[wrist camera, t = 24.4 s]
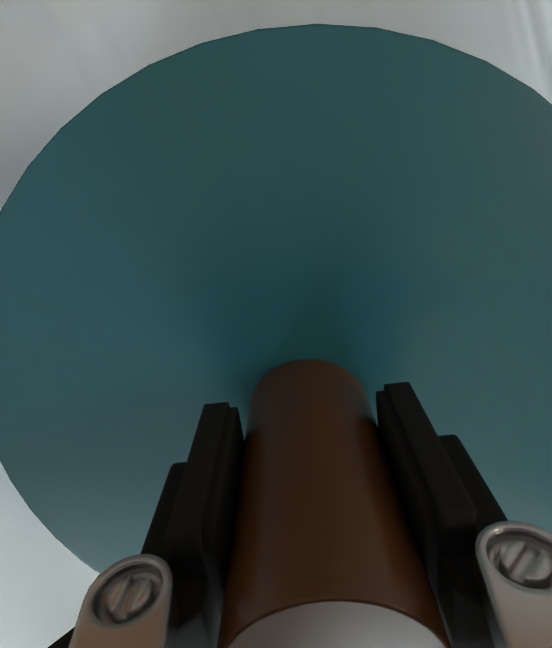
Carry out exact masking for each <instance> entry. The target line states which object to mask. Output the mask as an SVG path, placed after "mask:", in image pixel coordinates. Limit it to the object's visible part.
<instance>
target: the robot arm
mask: <svg viewBox="0 0 552 648" xmlns="http://www.w3.org/2000/svg"><path fill="white" fill-rule="evenodd" d="M376 406H377V422H378V429H379V432H380V435H381V438H382V441H383V444H384V447H385V450H386V453H387V456H388V459H389V462H390V465H391V468H392V471H393V474H394V477H395V480H396V483H397V486H398V489H399V492H400V495H401V498H402V501H403V504H404V507H405V510H406V513H407V516H408V519H409V522H410V525H411V528H412V531H413V534H414V537H415V540H416V543H417V546H418V549H419V552H420V555H421V558H422V561H423V564H424V567H425V570H426V573H427V576H428V579H429V582H430V585H431V588H432V591H433V594H434V597H435V600H436V603H437V606H438V609H439V612H440V615H441V618H442V621H443V624H444V627H445V630H446V633H447V636H448V639H449V642H450V645H451V648H552V533H551V532H549V531H547V530H546V529H544V528H542V527H540V526H536V525H533V524H530V523H527V522H521V521H512V520H509V521H508V519H507V518H506V516H505V514H504V513H503V511H502V509H501V507H500V506H499V504H498V502H497V501H496V499H495V497H494V496H493V494H492V492H491V491H490V489H489V487H488V486H487V484H486V482H485V481H484V479H483V477H482V476H481V474H480V472H479V471H478V469H477V467H476V466H475V464H474V462H473V461H472V459H471V457H470V456H469V454H468V452H467V451H466V449H465V447H464V446H463V444H462V442H461V441H460V439H459V438H458V437H457V435H455V434H450V435H441V436H438V435H437V433H436V431H435V430H434V428H433V426H432V424H431V422H430V420H429V418H428V416H427V414H426V413H425V411H424V409H423V407H422V405H421V403H420V401H419V399H418V398H417V396H416V394H415V392H414V390H413V388H412V386H411V384H410V383H409V382H400V383H391V384H384V391H376ZM243 447H244V436H243V431H242V426H241V421H240V415H239V411H238V408H237V407H230V405H229V403H228V402H220V403H211V404H205V405H204V406H203V409H202V413H201V416H200V419H199V423H198V426H197V429H196V433H195V436H194V439H193V443H192V446H191V449H190V452H189V456H188V459H187V462H180V463H174V464H173V465H172V466H171V468H170V470H169V473H168V476H167V479H166V481H165V484H164V487H163V490H162V493H161V496H160V499H159V502H158V504H157V507H156V510H155V513H154V516H153V519H152V522H151V525H150V527H149V530H148V533H147V536H146V539H145V542H144V545H143V548H142V550H141V553H140V554H136V555H133V556H129V557H126V558H123V559H121V560H119V561H118V562H116V563H114V564H112V565H110V566H109V567H108V568H107V569H106V570H104V571H103V572H102V573H101V574H100V575H99V576H98V577H97V578H96V579H95V581H94V582H93V583H92V584H91V586H90V587H89V589H88V591H87V593H86V596H85V598H84V600H83V603H82V606H81V610H80V613H79V616H78V619H77V622H76V625H75V627H74V628H73V629H71V630H70V631H69V632H68V633H66V634H65V635H64V636H62V637H61V638H60V639H58V640H57V641H56V642H54V643H53V644H52V645H51V646H49V647H48V648H217V643H218V636H219V628H220V621H221V613H222V606H223V598H224V590H225V583H226V576H227V568H228V560H229V553H230V545H231V538H232V530H233V523H234V515H235V507H236V500H237V492H238V485H239V477H240V470H241V462H242V454H243Z"/></svg>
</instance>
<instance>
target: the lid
mask: <svg viewBox="0 0 552 648" xmlns="http://www.w3.org/2000/svg"><path fill="white" fill-rule="evenodd" d="M400 382H409V383H410V384H411V386H412V388H413V390H414V392H415V394H416V396H417V398H418V399H419V401H420V403H421V405H422V407H423V409H424V411H425V413H426V414H427V416H428V418H429V420H430V422H431V424H432V426H433V428H434V430H435V431H436V433H437V435H438V436H441V435H450V434H455V435H457V437H458V438H459V439H460V441H461V442H462V444H463V446H464V447H465V449H466V451H467V452H468V454H469V456H470V457H471V459H472V461H473V462H474V464H475V466H476V467H477V469H478V471H479V472H480V474H481V476H482V477H483V479H484V481H485V482H486V484H487V486H488V487H489V489H490V491H491V492H492V494H493V496H494V497H495V499H496V501H497V502H498V504H499V506H500V507H501V509H502V511H503V513H504V514H505V516H506V518H507V519H508V521H509V520H512V521H521V522H527V523H530V524H533V525H536V526H540V527H542V528H544V529H546V530H547V531H549V532H551V533H552V104H551V103H549V102H548V101H547V100H546V99H545V98H543V97H542V96H541V95H540V94H539V93H537V92H536V91H535V90H534V89H532V88H531V87H529V86H527V85H526V84H524V83H522V82H521V81H519V80H517V79H516V78H514V77H512V76H510V75H509V74H507V73H505V72H504V71H502V70H500V69H499V68H497V67H495V66H494V65H492V64H490V63H489V62H487V61H485V60H482V59H480V58H477V57H475V56H472V55H470V54H467V53H464V52H462V51H459V50H457V49H454V48H452V47H449V46H447V45H444V44H442V43H439V42H437V41H434V40H430V39H426V38H421V37H417V36H412V35H408V34H403V33H399V32H394V31H390V30H385V29H381V28H376V27H360V26H344V25H328V24H309V25H298V26H287V27H276V28H265V29H257V30H253V31H249V32H244V33H240V34H236V35H232V36H228V37H224V38H220V39H216V40H212V41H208V42H204V43H201V44H198V45H196V46H193V47H191V48H189V49H186V50H184V51H181V52H179V53H177V54H174V55H172V56H169V57H167V58H164V59H162V60H160V61H157V62H155V63H152V64H150V65H148V66H146V67H145V68H143V69H141V70H140V71H138V72H137V73H135V74H133V75H132V76H130V77H128V78H127V79H125V80H123V81H122V82H120V83H118V84H117V85H115V86H114V87H112V88H110V89H109V90H107V91H105V92H104V93H102V94H101V95H100V96H98V97H97V98H96V99H95V100H94V101H92V102H91V103H90V104H89V105H88V106H87V107H85V108H84V109H83V110H82V111H81V112H79V113H78V114H77V115H76V116H75V117H74V118H72V119H71V120H70V121H69V122H68V123H66V124H65V125H64V126H63V127H62V128H61V129H60V130H59V131H58V132H57V133H56V135H55V136H54V137H53V138H52V139H51V140H50V141H49V143H48V144H47V145H46V146H45V147H44V148H43V150H42V151H41V152H40V153H39V154H38V155H37V157H36V158H35V159H34V160H33V161H32V162H31V163H30V165H29V166H28V167H27V169H26V170H25V172H24V174H23V175H22V177H21V178H20V180H19V182H18V183H17V185H16V186H15V188H14V190H13V191H12V193H11V195H10V196H9V198H8V199H7V201H6V203H5V204H4V206H3V207H2V210H1V212H0V461H1V463H2V465H3V467H4V469H5V471H6V473H7V475H8V476H9V478H10V480H11V482H12V483H13V485H14V486H15V488H16V489H17V491H18V492H19V493H20V495H21V496H22V498H23V499H24V501H25V502H26V504H27V505H28V506H29V508H30V509H31V511H32V512H33V513H34V514H35V515H36V516H37V517H38V519H39V520H40V521H41V522H42V523H43V524H44V525H45V526H46V528H47V529H48V530H49V531H50V532H51V533H52V534H53V536H54V537H55V538H56V539H58V540H59V541H60V542H61V543H62V544H63V545H64V546H65V547H66V548H68V549H69V550H70V551H71V552H72V553H73V554H74V555H75V556H76V557H78V558H79V559H80V560H81V561H82V562H84V563H85V564H86V565H88V566H89V567H91V568H92V569H93V570H95V571H96V572H98V573H99V574H101V573H102V572H103V571H104V570H106V569H107V568H108V567H109V566H110V565H112V564H114V563H116V562H118V561H119V560H121V559H123V558H126V557H129V556H133V555H136V554H140V553H141V550H142V548H143V545H144V542H145V539H146V536H147V533H148V530H149V527H150V525H151V522H152V519H153V516H154V513H155V510H156V507H157V504H158V502H159V499H160V496H161V493H162V490H163V487H164V484H165V481H166V479H167V476H168V473H169V470H170V468H171V466H172V465H173V464H174V463H180V462H187V459H188V456H189V452H190V449H191V446H192V443H193V439H194V436H195V433H196V429H197V426H198V423H199V419H200V416H201V413H202V409H203V406H204V405H205V404H211V403H220V402H228V403H229V405H230V407H237V408H238V411H239V415H240V421H241V426H242V431H243V436H244V447H243V454H242V462H241V470H240V477H239V485H238V492H237V500H236V507H235V515H234V523H233V530H232V538H231V545H230V553H229V560H228V568H227V576H226V583H225V590H224V598H223V606H222V613H221V621H220V628H219V636H218V643H217V648H451V645H450V642H449V639H448V636H447V633H446V630H445V627H444V624H443V621H442V618H441V615H440V612H439V609H438V606H437V603H436V600H435V597H434V594H433V591H432V588H431V585H430V582H429V579H428V576H427V573H426V570H425V567H424V564H423V561H422V558H421V555H420V552H419V549H418V546H417V543H416V540H415V537H414V534H413V531H412V528H411V525H410V522H409V519H408V516H407V513H406V510H405V507H404V504H403V501H402V498H401V495H400V492H399V489H398V486H397V483H396V480H395V477H394V474H393V471H392V468H391V465H390V462H389V459H388V456H387V453H386V450H385V447H384V444H383V441H382V438H381V435H380V432H379V429H378V422H377V406H376V391H384V384H391V383H400Z"/></svg>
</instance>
